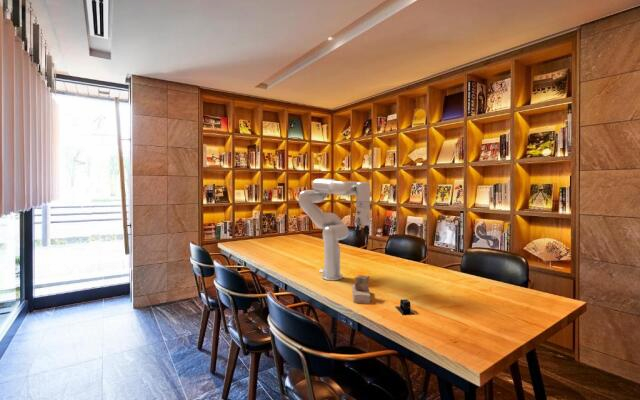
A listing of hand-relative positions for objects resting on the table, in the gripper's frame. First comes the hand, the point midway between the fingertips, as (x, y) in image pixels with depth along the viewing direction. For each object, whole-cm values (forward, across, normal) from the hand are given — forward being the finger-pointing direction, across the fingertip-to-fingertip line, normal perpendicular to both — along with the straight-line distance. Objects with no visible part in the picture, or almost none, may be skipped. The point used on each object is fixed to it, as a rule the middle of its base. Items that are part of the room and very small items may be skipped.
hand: (362, 235), depth 180 cm
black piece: (+28, -22, -32) cm, 48 cm away
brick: (+28, -18, -8) cm, 34 cm away
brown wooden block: (+23, -17, -9) cm, 30 cm away
